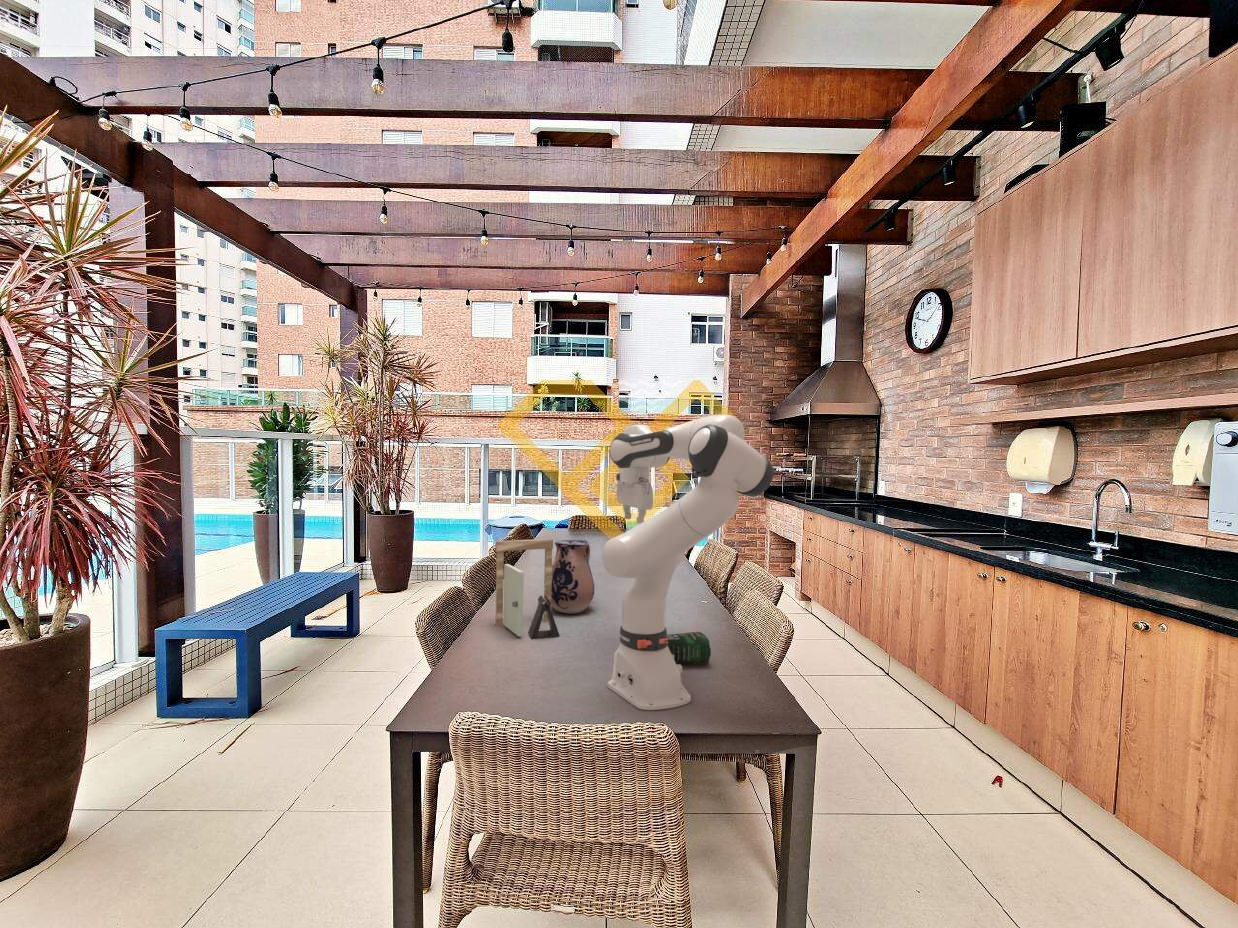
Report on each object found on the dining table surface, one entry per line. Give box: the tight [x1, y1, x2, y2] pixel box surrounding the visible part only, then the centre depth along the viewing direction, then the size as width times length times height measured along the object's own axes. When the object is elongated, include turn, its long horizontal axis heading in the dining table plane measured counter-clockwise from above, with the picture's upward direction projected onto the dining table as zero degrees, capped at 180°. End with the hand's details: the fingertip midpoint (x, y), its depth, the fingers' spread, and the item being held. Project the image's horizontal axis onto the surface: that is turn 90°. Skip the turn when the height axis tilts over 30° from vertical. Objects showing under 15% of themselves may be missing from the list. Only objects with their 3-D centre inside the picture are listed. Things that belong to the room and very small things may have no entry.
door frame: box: [495, 538, 554, 627], centre depth 189 cm, size 2×19×28 cm, turn 112°
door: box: [503, 563, 525, 637], centre depth 179 cm, size 3×13×20 cm, turn 32°
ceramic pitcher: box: [551, 539, 595, 615], centre depth 206 cm, size 18×21×25 cm
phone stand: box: [527, 594, 561, 640], centre depth 177 cm, size 9×6×12 cm, turn 107°
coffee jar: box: [667, 631, 712, 666], centre depth 157 cm, size 10×8×19 cm
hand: (633, 521), depth 174 cm, fingers open, 8 cm apart
